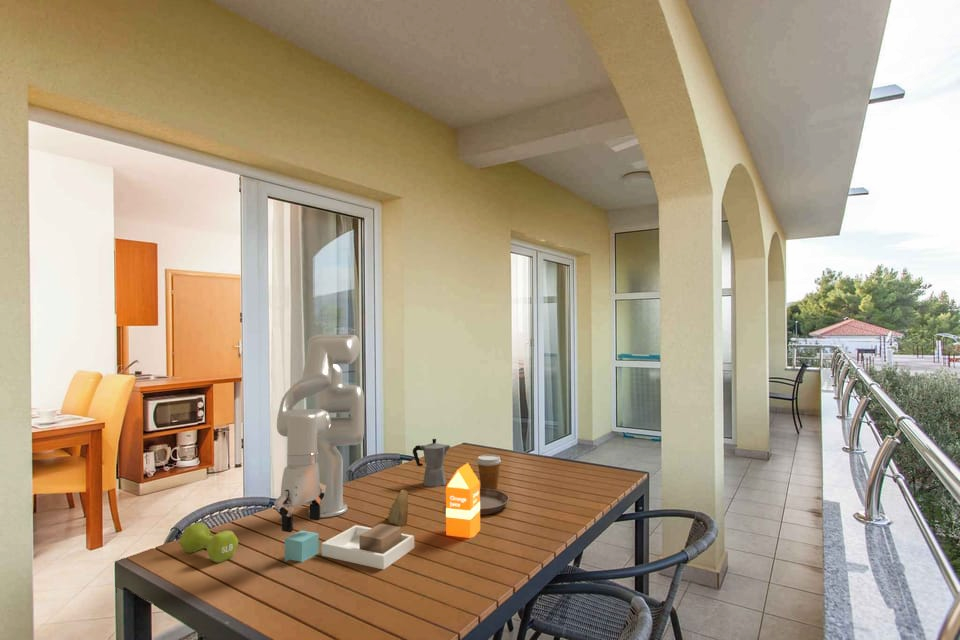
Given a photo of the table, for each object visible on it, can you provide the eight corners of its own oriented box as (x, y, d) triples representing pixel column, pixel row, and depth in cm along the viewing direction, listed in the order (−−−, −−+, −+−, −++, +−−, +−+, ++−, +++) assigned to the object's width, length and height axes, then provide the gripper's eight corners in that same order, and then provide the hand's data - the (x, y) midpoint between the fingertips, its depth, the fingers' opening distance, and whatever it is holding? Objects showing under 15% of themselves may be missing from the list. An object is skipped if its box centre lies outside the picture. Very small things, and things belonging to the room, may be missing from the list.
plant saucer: (517, 513, 163) (517, 503, 163) (457, 520, 157) (457, 510, 157) (497, 495, 183) (497, 486, 183) (443, 500, 177) (443, 491, 177)
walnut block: (359, 558, 128) (359, 535, 128) (380, 545, 136) (380, 523, 136) (381, 563, 125) (381, 539, 125) (401, 549, 133) (401, 527, 133)
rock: (414, 522, 149) (420, 507, 159) (396, 500, 149) (404, 486, 159) (387, 542, 150) (395, 525, 160) (369, 521, 150) (379, 505, 160)
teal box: (284, 561, 129) (284, 538, 129) (301, 552, 134) (301, 530, 134) (301, 565, 126) (302, 541, 126) (318, 556, 132) (318, 533, 132)
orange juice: (480, 529, 149) (480, 463, 149) (470, 541, 140) (469, 470, 141) (456, 526, 151) (456, 461, 152) (445, 537, 143) (444, 468, 144)
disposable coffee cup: (476, 485, 195) (475, 454, 195) (499, 484, 195) (499, 454, 196) (478, 492, 185) (477, 460, 186) (503, 491, 186) (502, 459, 186)
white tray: (321, 558, 130) (321, 543, 130) (355, 539, 143) (355, 525, 143) (383, 572, 121) (383, 556, 122) (414, 550, 134) (414, 535, 134)
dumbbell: (240, 555, 132) (241, 528, 133) (212, 567, 126) (212, 539, 126) (205, 544, 141) (205, 518, 141) (176, 554, 134) (177, 527, 134)
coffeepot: (448, 479, 204) (448, 435, 205) (452, 485, 195) (452, 440, 195) (411, 481, 200) (411, 437, 201) (413, 488, 191) (413, 442, 192)
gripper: (314, 452, 140) (314, 514, 139) (265, 465, 125) (264, 534, 124) (335, 454, 137) (334, 517, 136) (287, 467, 122) (286, 538, 120)
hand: (301, 525), depth 130 cm, fingers open, 9 cm apart
